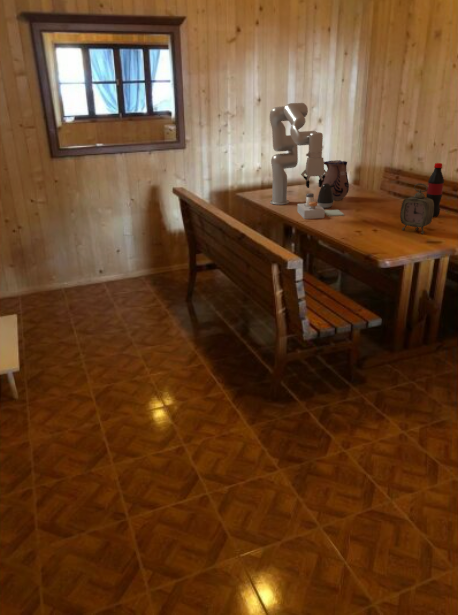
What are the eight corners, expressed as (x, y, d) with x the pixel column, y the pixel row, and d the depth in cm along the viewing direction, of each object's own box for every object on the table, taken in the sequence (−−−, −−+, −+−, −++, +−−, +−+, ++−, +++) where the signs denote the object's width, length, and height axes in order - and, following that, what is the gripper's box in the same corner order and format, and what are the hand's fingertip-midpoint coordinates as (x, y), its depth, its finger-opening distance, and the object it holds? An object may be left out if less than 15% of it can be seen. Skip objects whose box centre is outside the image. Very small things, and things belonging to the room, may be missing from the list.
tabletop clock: (398, 230, 269) (403, 183, 259) (406, 227, 275) (412, 180, 264) (424, 235, 259) (431, 186, 249) (432, 231, 265) (439, 183, 255)
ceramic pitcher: (350, 201, 334) (353, 162, 324) (318, 202, 335) (320, 163, 325) (345, 196, 350) (347, 159, 340) (314, 196, 351) (316, 159, 341)
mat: (322, 211, 311) (322, 210, 311) (338, 210, 312) (338, 209, 312) (327, 216, 300) (327, 215, 300) (344, 215, 301) (344, 214, 301)
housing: (297, 211, 313) (297, 203, 311) (316, 210, 314) (316, 202, 312) (304, 218, 296) (304, 210, 294) (324, 217, 297) (324, 209, 295)
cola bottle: (438, 214, 298) (446, 162, 285) (439, 217, 290) (447, 164, 278) (423, 213, 300) (430, 161, 288) (423, 217, 293) (430, 164, 281)
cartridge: (304, 213, 310) (305, 193, 305) (311, 212, 310) (312, 193, 305) (306, 214, 306) (307, 194, 301) (313, 214, 306) (314, 194, 301)
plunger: (307, 211, 302) (308, 201, 299) (315, 211, 302) (316, 201, 300) (309, 213, 297) (310, 203, 295) (318, 213, 297) (318, 203, 295)
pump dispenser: (333, 209, 316) (334, 184, 310) (316, 209, 318) (317, 184, 312) (333, 205, 325) (335, 181, 319) (317, 205, 327) (318, 181, 321)
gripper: (301, 156, 282) (300, 189, 289) (331, 155, 283) (330, 187, 291) (298, 155, 289) (297, 186, 296) (328, 153, 290) (326, 185, 298)
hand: (313, 187), depth 293 cm, fingers open, 6 cm apart
